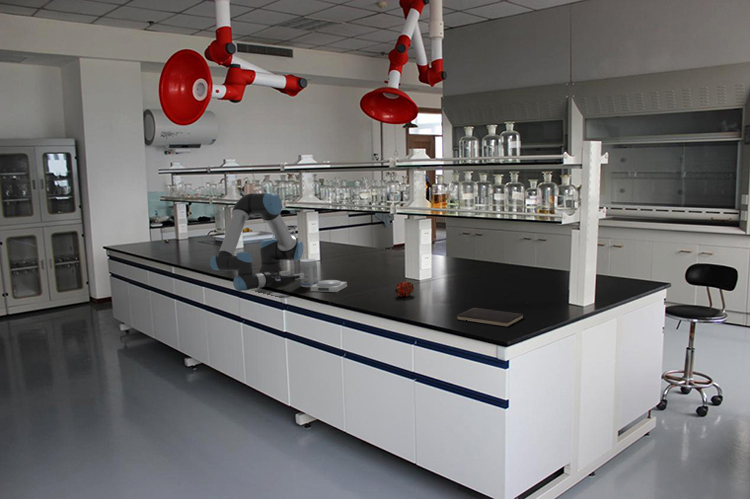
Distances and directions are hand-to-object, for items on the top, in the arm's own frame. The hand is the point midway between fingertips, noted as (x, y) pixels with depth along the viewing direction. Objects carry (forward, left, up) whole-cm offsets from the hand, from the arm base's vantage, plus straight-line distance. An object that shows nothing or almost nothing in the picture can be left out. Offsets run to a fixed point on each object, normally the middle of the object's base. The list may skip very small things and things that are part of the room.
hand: (296, 274), depth 323 cm
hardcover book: (+44, +110, -9) cm, 119 cm away
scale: (-2, +18, -8) cm, 20 cm away
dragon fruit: (+9, +63, -8) cm, 65 cm away
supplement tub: (-7, +4, -8) cm, 12 cm away
